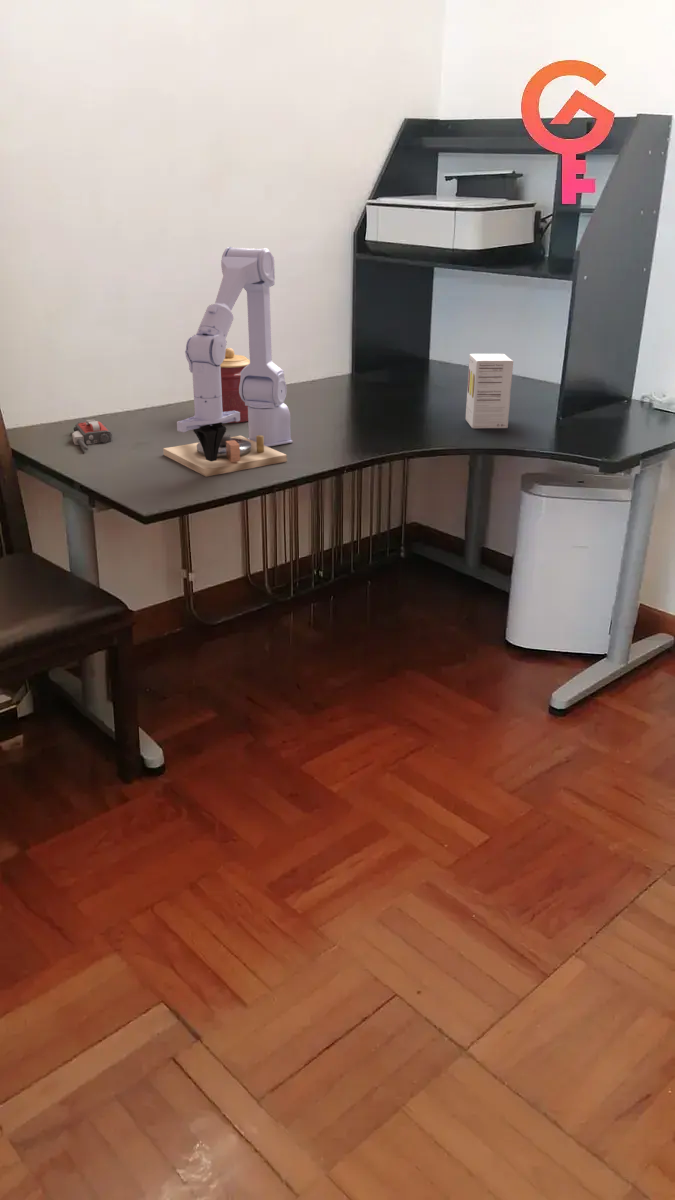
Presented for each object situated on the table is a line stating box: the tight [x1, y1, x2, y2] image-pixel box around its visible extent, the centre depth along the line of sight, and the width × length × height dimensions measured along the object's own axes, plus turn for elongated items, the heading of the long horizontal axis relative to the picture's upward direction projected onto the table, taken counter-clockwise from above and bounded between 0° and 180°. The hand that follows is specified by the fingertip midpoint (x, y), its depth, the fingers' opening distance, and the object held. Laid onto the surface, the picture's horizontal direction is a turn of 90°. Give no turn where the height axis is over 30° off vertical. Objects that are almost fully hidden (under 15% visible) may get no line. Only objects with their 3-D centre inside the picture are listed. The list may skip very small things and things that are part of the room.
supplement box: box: [465, 353, 514, 429], centre depth 236 cm, size 10×9×17 cm
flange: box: [197, 438, 251, 462], centre depth 207 cm, size 16×12×4 cm
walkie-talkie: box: [71, 419, 113, 451], centre depth 223 cm, size 9×4×20 cm
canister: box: [220, 347, 250, 424], centre depth 241 cm, size 13×13×18 cm
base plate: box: [162, 433, 288, 478], centre depth 209 cm, size 20×20×5 cm
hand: (211, 460), depth 199 cm, fingers closed
